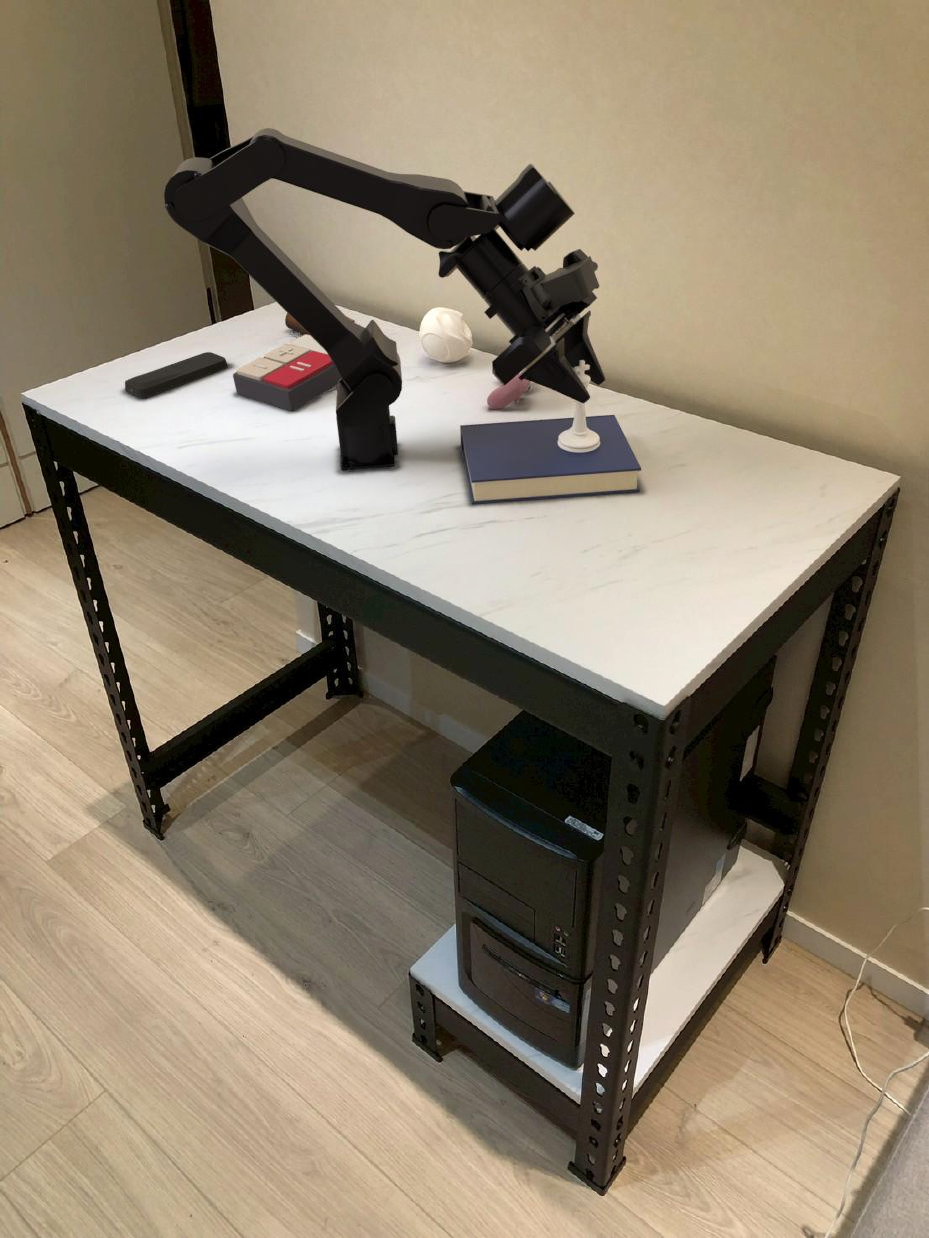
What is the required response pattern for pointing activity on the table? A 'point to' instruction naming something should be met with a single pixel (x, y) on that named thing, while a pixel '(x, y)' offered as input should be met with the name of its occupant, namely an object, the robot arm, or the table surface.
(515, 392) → the video game controller
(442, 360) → the white ball
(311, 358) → the calculator
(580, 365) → the chess piece
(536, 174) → the robot arm
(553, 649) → the table surface
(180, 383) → the remote control
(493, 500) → the blue book
